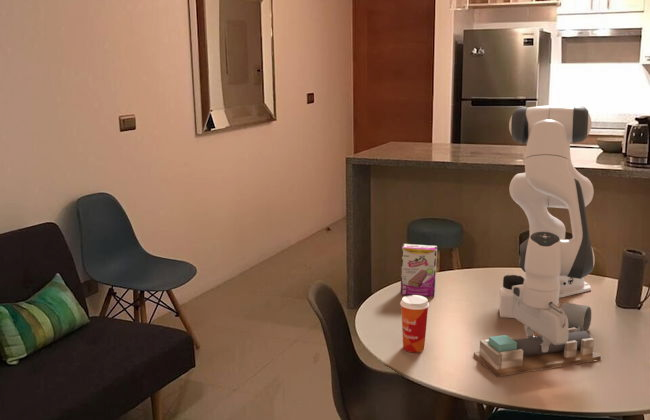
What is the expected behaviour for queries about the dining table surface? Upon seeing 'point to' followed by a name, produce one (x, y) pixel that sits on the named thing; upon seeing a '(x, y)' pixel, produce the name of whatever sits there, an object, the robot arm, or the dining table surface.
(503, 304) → the medicine bottle
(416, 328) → the paper cup
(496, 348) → the grey and teal rod
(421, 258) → the candy bar box
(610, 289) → the dining table surface
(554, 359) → the wooden cradle
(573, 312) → the ceramic mug
